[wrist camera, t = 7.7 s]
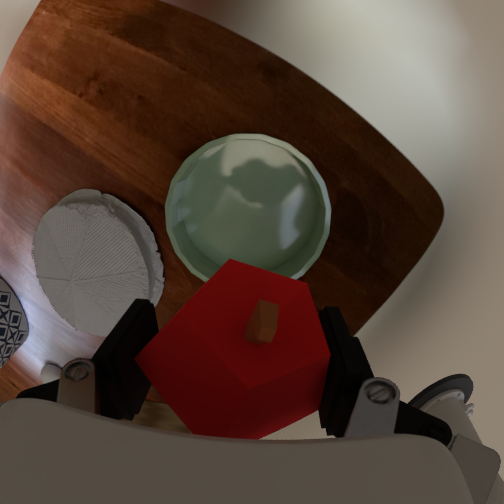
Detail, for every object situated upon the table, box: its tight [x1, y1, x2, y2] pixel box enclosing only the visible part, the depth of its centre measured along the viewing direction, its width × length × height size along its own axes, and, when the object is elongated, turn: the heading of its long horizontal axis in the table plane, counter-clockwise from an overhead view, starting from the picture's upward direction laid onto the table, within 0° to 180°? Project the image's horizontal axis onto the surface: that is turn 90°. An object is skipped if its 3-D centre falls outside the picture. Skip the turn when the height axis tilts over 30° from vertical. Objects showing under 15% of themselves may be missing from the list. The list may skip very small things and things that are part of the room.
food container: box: [31, 189, 165, 337], centre depth 32 cm, size 20×20×7 cm
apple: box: [134, 259, 331, 440], centre depth 10 cm, size 7×7×8 cm
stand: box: [122, 400, 192, 434], centre depth 38 cm, size 12×12×18 cm
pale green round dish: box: [165, 134, 331, 282], centre depth 30 cm, size 16×16×4 cm
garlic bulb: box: [41, 364, 61, 384], centre depth 41 cm, size 6×6×8 cm
